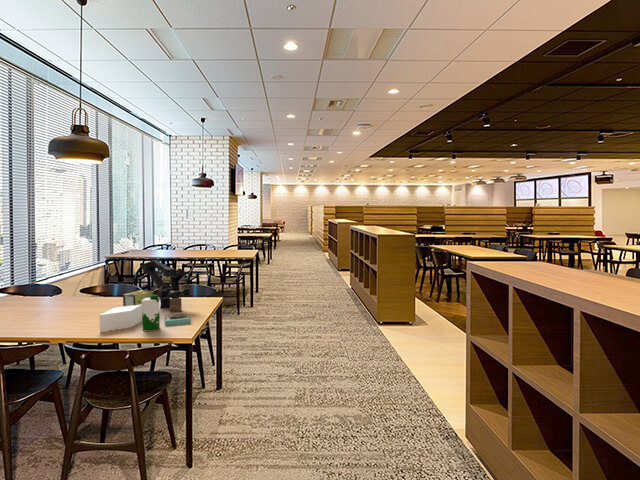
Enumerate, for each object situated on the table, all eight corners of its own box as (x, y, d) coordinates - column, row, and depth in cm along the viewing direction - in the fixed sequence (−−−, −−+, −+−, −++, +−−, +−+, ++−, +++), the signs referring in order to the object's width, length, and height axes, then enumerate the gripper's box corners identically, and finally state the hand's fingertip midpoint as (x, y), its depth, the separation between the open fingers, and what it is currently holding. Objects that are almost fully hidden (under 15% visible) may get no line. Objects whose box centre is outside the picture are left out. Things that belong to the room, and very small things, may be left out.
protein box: (153, 313, 264) (152, 290, 263) (136, 319, 250) (135, 295, 249) (141, 312, 268) (140, 289, 266) (123, 318, 253) (122, 294, 252)
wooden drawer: (169, 315, 262) (169, 298, 261) (182, 313, 265) (181, 297, 264) (170, 320, 249) (169, 303, 248) (183, 319, 252) (183, 302, 251)
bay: (164, 319, 251) (164, 314, 250) (188, 317, 256) (188, 312, 256) (165, 325, 237) (164, 320, 237) (190, 323, 242) (190, 318, 242)
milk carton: (156, 331, 227) (155, 296, 225) (140, 331, 226) (139, 297, 224) (161, 326, 235) (160, 293, 234) (145, 326, 235) (144, 293, 233)
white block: (151, 321, 246) (151, 305, 246) (108, 334, 221) (107, 316, 220) (135, 318, 253) (135, 302, 252) (92, 330, 227) (91, 313, 227)
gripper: (188, 289, 282) (190, 308, 273) (160, 291, 275) (161, 311, 266) (189, 280, 275) (191, 299, 265) (160, 282, 267) (161, 302, 258)
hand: (176, 303), depth 264 cm, fingers closed
